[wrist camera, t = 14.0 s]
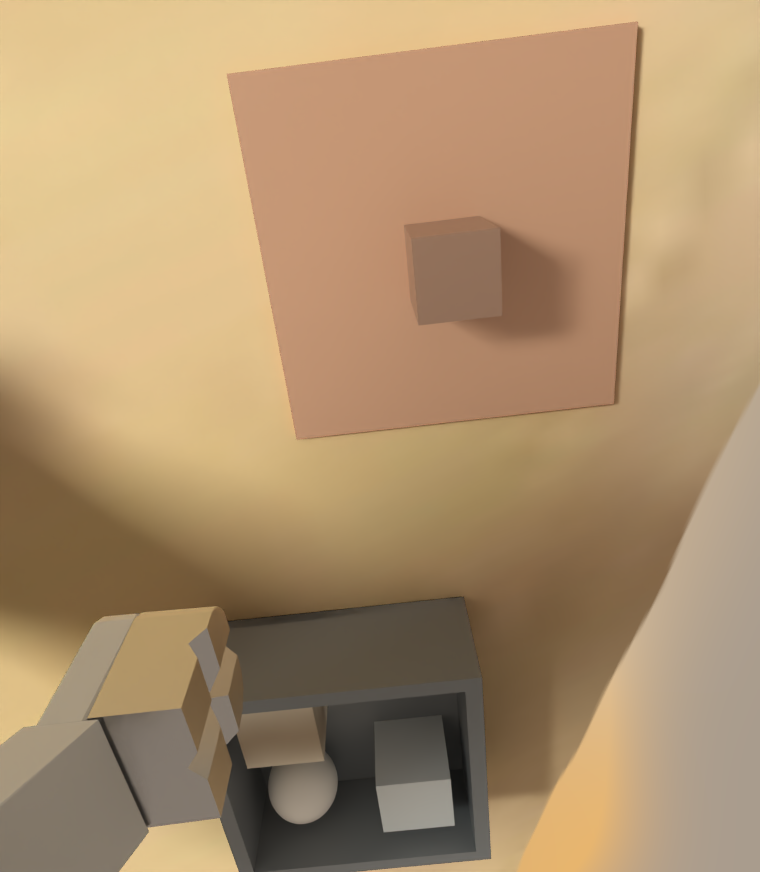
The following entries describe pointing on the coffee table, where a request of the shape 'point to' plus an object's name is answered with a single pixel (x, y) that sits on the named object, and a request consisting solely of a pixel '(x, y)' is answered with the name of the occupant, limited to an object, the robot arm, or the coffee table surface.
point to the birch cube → (283, 737)
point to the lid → (443, 226)
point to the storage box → (360, 732)
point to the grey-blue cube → (412, 774)
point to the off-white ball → (303, 790)
